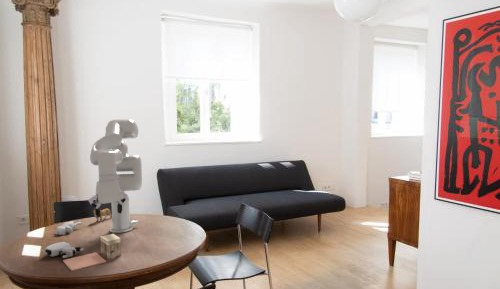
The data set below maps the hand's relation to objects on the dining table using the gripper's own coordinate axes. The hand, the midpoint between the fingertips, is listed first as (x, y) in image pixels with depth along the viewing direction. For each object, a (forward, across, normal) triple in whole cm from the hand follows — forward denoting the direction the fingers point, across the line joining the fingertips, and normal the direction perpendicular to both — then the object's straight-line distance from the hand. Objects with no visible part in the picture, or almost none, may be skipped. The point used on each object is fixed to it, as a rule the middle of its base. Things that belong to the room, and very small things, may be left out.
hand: (109, 214), depth 168 cm
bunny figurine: (+19, +6, -51) cm, 55 cm away
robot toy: (+19, +17, -14) cm, 29 cm away
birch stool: (+19, 0, 0) cm, 19 cm away
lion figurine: (+18, -17, -60) cm, 65 cm away
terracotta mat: (+19, +12, +1) cm, 22 cm away
